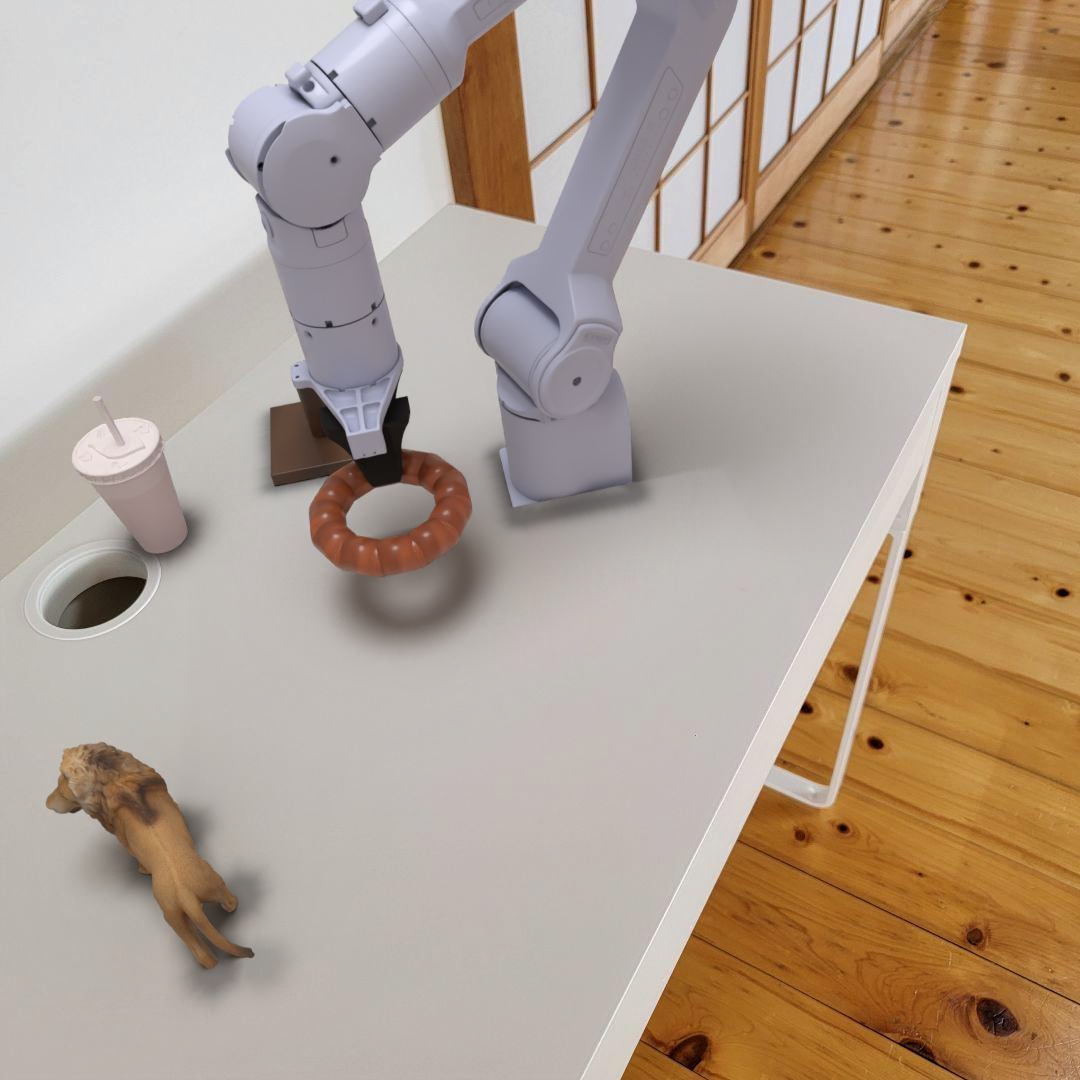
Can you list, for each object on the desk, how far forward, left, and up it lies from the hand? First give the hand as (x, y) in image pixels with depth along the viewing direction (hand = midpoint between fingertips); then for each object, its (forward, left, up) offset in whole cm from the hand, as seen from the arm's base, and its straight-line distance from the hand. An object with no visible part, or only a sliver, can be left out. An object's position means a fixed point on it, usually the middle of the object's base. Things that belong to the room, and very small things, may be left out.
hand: (384, 466), depth 69 cm
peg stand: (+6, -14, -8) cm, 17 cm away
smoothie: (+19, -7, -9) cm, 22 cm away
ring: (0, +4, 0) cm, 4 cm away
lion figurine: (+16, +23, -9) cm, 30 cm away
